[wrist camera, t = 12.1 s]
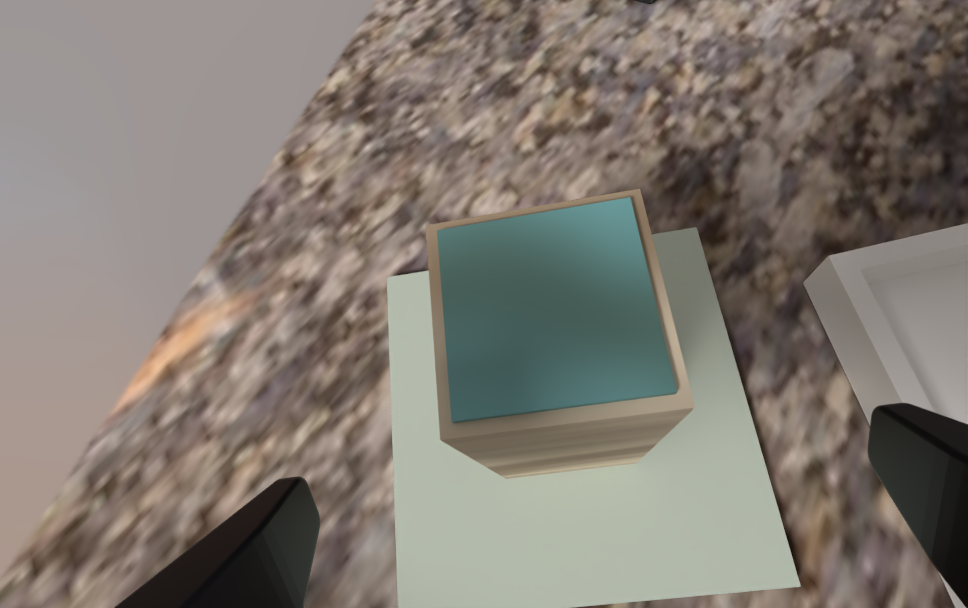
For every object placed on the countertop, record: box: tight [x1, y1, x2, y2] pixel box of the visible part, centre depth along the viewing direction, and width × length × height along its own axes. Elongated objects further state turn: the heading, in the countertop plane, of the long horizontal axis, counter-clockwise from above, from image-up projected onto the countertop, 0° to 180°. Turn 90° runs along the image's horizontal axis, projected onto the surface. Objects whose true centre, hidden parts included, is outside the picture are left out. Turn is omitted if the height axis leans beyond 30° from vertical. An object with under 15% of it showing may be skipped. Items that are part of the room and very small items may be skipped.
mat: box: [387, 227, 801, 608], centre depth 22 cm, size 14×14×1 cm
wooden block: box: [426, 189, 695, 479], centre depth 17 cm, size 5×5×11 cm
